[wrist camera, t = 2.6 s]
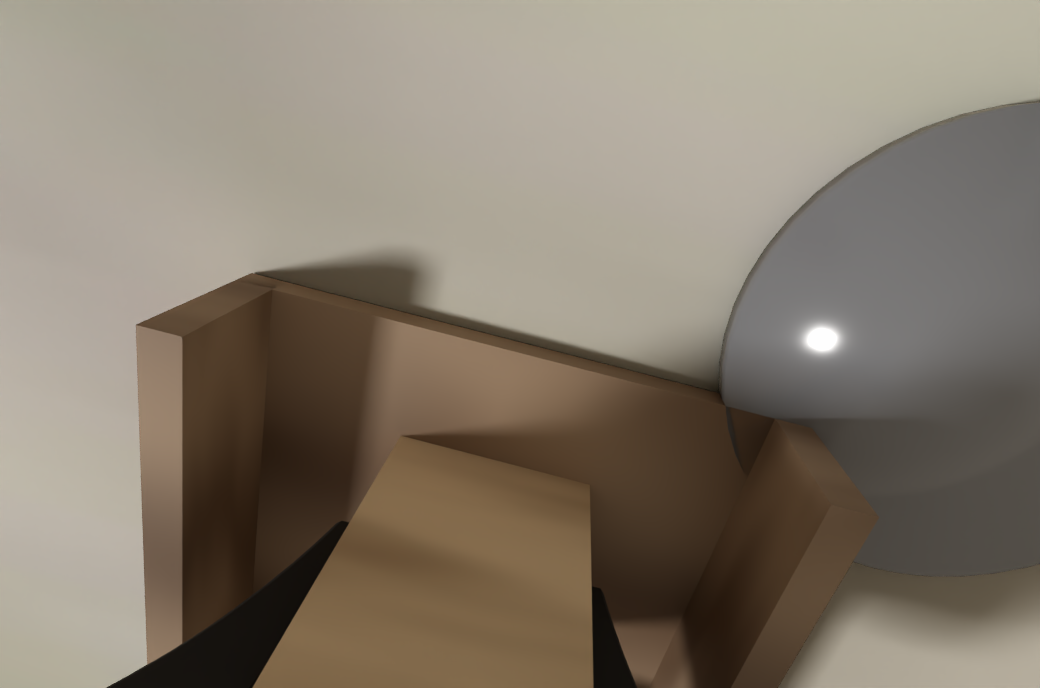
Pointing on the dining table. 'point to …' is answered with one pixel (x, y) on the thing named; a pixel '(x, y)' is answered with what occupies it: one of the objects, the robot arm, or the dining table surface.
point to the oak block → (450, 583)
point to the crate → (487, 433)
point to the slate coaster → (913, 340)
